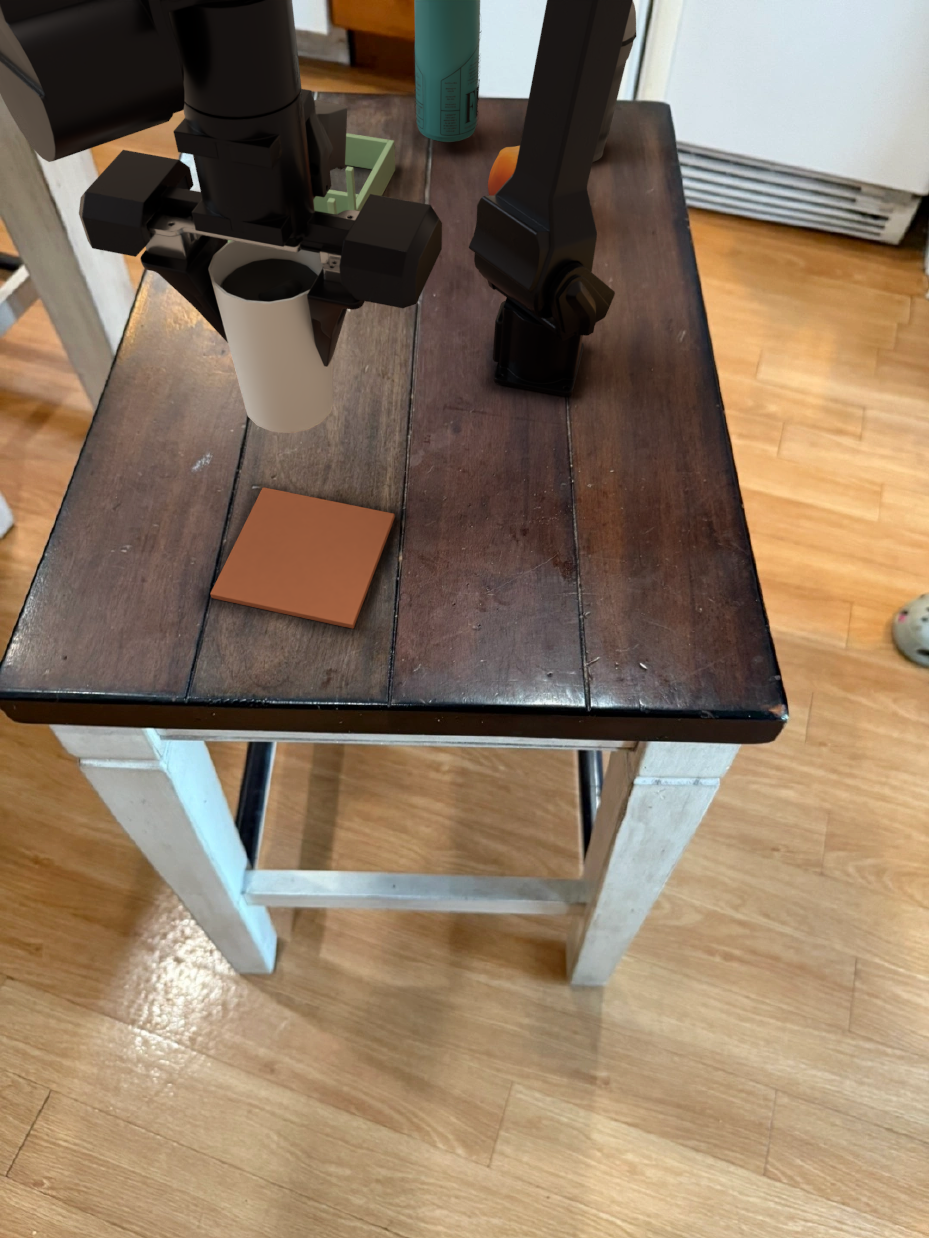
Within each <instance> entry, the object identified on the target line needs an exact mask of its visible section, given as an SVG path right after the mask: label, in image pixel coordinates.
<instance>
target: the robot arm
mask: <svg viewBox="0 0 929 1238" xmlns="http://www.w3.org/2000/svg"><path fill="white" fill-rule="evenodd" d="M632 1H633V2H634V0H546V4H545V9H544V15H543V19H542V25H541V29H540V35H539V41H538V46H537V52H536V57H535V63H534V69H533V75H532V78H531V83H530V90H529V95H528V99H527V106H526V110H525V117H524V121H523V127H522V133H521V138H520V141H519V146H520V148H519V153H518V159H517V164H516V167H515V171H514V173H513V175H512V176H511V177H510V178H509V179H508V180H507V181H506V182H505V183H504V185H503V186H502V187H501V188H500V189H499V190H498V191H497V192H496V194H495V195H494V196H489V195H483V196H481V197H480V199H479V201H478V203H477V205H476V220H475V221H476V224H475V228H474V232H473V236H472V238H471V240H470V243H469V245H468V249H469V250H471V252H473V253H474V258H473V262H474V267H475V269H476V270H478V272H479V273H480V275H481V276H482V277H483V278H484V279H486V281H487V284H488V286H489V288H491V289H492V290H494V291H496V292H498V293H500V294H501V295H503V297H505V300H503V301H501V303H500V306H499V309H498V312H497V314H496V317H495V321H494V335H493V348H492V349H493V350H492V360H493V362H494V363H497V365H496V368H495V371H494V374H493V382H494V383H496V384H497V385H503V386H508V387H512V388H513V387H514V388H519V389H524V390H530V391H535V392H539V393H540V392H541V393H546V394H552V395H556V396H562V397H570V396H572V394H573V392H574V389H575V384H576V380H577V376H578V372H579V370H580V369H579V368H580V364H581V361H582V357H583V352H584V349H585V348H584V347H585V344H584V343H583V339H584V336H587V337H588V336H590V335H592V334H594V332H595V326H596V324H597V323H598V322H600V321H602V320H604V319H605V318H606V316H607V315H608V313H609V310H610V308H611V304H612V302H613V300H614V297H615V295H616V292H615V290H613V289H612V288H611V287H610V286H609V285H607V283H605V282H604V281H603V280H601V279H600V278H599V277H598V276H597V275H596V274H594V273H593V265H594V259H595V253H596V246H597V240H598V239H597V238H598V232H597V231H598V230H597V227H596V222H595V218H594V213H593V209H592V205H591V200H590V196H589V193H588V184H589V183H588V182H589V178H590V175H591V170H592V168H593V167H592V166H593V163H594V162H593V159H594V155H595V151H596V147H597V143H598V138H599V134H600V130H601V126H602V122H603V118H604V114H605V110H606V106H607V102H608V98H609V94H610V90H611V86H612V82H613V78H614V74H615V70H616V66H617V62H618V58H619V54H620V50H621V46H622V42H623V38H624V34H625V29H626V25H627V21H628V17H629V13H630V9H631V5H632ZM294 15H295V14H294V6H293V0H0V97H1V99H2V101H3V103H4V104H5V107H6V108H7V110H8V112H9V114H10V116H11V118H12V119H13V121H14V123H15V124H16V126H17V127H18V129H19V131H20V132H21V134H22V135H23V137H24V138H25V140H26V141H27V143H28V144H29V146H30V147H31V148H32V150H34V151H35V152H36V154H37V155H38V156H39V157H40V158H42V160H45V161H46V162H48V163H50V162H51V163H52V162H55V161H58V160H61V159H64V158H66V157H70V156H73V155H76V154H78V153H81V152H84V151H87V150H90V149H93V148H96V147H99V146H101V145H105V144H108V143H110V142H114V141H116V140H118V139H123V138H124V137H127V136H130V135H133V134H136V133H139V132H142V131H145V130H148V129H151V128H154V127H158V126H160V125H163V124H165V123H168V122H170V121H171V119H172V118H173V117H174V116H173V115H174V114H176V113H179V112H182V111H183V114H184V118H183V119H182V120H181V122H180V123H179V124H178V125H177V126H176V128H175V129H174V130H173V136H174V140H175V144H176V150H177V153H181V154H186V155H192V158H193V162H194V167H195V171H196V177H197V181H198V186H199V190H200V191H198V190H193V189H192V188H193V187H194V180H193V175H192V171H191V167H190V165H187V164H186V163H185V162H183V161H182V160H181V159H177V158H172V157H167V156H161V155H155V154H149V153H144V152H138V151H132V150H127V149H122V150H121V151H120V152H119V153H118V155H116V157H114V159H113V160H112V161H111V162H110V163H109V165H108V166H107V167H105V169H104V170H103V171H102V172H101V173H100V175H98V176H97V178H96V179H95V180H94V181H93V182H92V183H91V184H90V185H89V187H87V189H86V190H85V191H84V192H83V193H82V195H81V196H80V198H79V199H80V200H79V208H78V215H79V219H80V221H81V225H82V228H83V231H84V235H85V237H86V241H87V242H88V244H89V246H90V247H91V249H93V250H99V251H103V252H109V253H114V254H119V255H125V256H130V257H134V258H137V257H138V255H139V254H140V253H141V252H142V251H143V250H144V249H145V250H144V251H143V253H142V254H141V255H140V258H139V259H140V263H141V265H142V267H143V268H144V269H145V270H146V271H150V272H154V273H157V274H158V275H159V276H160V277H161V278H162V279H163V280H164V281H165V282H167V284H169V285H170V286H171V287H172V288H173V289H174V290H175V291H176V292H177V293H179V294H180V295H181V296H182V297H183V298H184V300H186V301H187V302H188V303H189V304H190V305H191V306H192V307H193V308H194V309H195V310H196V311H197V313H199V314H200V315H201V316H202V317H203V318H204V320H206V322H207V323H209V325H210V326H211V327H212V328H213V329H214V330H215V331H216V332H217V333H218V334H219V336H220V337H221V338H222V339H223V340H224V341H225V342H226V343H227V344H228V341H227V337H226V333H225V330H224V326H223V322H222V318H221V315H220V311H219V307H218V303H217V300H216V296H215V292H214V289H213V285H212V281H211V277H210V274H209V270H208V268H209V266H210V263H211V260H212V258H213V255H214V254H215V253H216V252H218V251H219V250H220V249H221V248H222V247H223V246H224V245H226V244H227V243H228V240H231V241H237V242H242V243H247V244H252V245H258V246H263V247H268V248H274V249H279V250H284V251H290V252H299V251H300V250H305V251H311V252H316V253H320V262H321V264H324V265H323V267H322V270H321V272H320V273H319V275H318V277H317V279H316V280H315V282H314V284H313V285H312V287H311V289H310V291H309V292H308V294H307V299H308V305H309V311H310V317H311V323H312V329H313V335H314V341H315V346H316V348H317V350H318V353H319V355H320V357H321V360H322V362H323V365H324V366H326V367H328V365H329V363H330V361H331V359H332V360H333V357H334V354H335V351H336V348H337V345H338V341H339V338H340V335H341V331H342V328H343V326H344V325H343V324H344V321H345V318H346V314H347V310H350V311H352V310H358V309H360V308H361V307H363V305H364V304H365V303H366V302H367V303H372V304H378V305H382V306H387V307H388V306H389V307H394V308H398V309H405V308H408V307H411V306H415V305H417V303H418V301H419V299H420V297H421V295H422V292H423V290H424V288H425V286H426V283H427V282H428V280H429V277H430V275H431V273H432V271H433V269H434V267H435V265H436V262H437V261H438V258H439V256H440V254H441V252H442V249H443V245H442V244H443V222H442V220H441V218H440V217H439V216H438V213H437V212H436V211H435V209H434V208H433V206H432V205H431V204H429V203H422V202H418V201H413V200H406V199H401V198H397V197H396V198H395V197H389V196H384V195H382V196H379V195H373V194H370V195H369V197H368V199H367V200H366V202H365V204H364V206H363V207H362V209H361V211H355V210H345V211H342V212H340V213H339V214H330V213H325V212H319V211H315V210H314V198H315V197H316V196H318V197H325V196H326V194H327V192H328V191H329V189H330V190H331V188H332V177H331V171H334V170H336V169H337V170H344V169H346V165H345V154H346V133H347V129H348V128H347V127H348V106H347V105H344V104H341V103H335V102H329V101H323V100H317V99H315V98H314V96H313V92H312V91H313V90H312V89H305V88H302V80H301V71H300V62H299V61H300V60H299V52H298V44H297V43H298V42H297V34H296V23H295V16H294ZM223 284H224V282H223Z"/></svg>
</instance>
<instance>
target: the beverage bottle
mask: <svg viewBox="0 0 929 1238" xmlns="http://www.w3.org/2000/svg"><path fill="white" fill-rule="evenodd" d="M413 2H414V37H413V39H414V40H413V42H412V43H414V51H413V52H412V53H413V55H414V57H413V60H414V65H413V68H414V75H413V79H414V85H413V86H414V87H413V88H414V92H415V97H414V106H415V111H414V114H415V123H416V126H417V129H418V131H419V133H420V134H421V135H423V136H424V137H426V138H428V139H430V140H433V141H437V142H444V143H451V142H452V143H453V142H460V141H462V140H466V139H468V138H470V137H472V136H473V134H474V133H475V131H476V128H477V126H478V121H479V115H480V114H479V113H480V112H479V111H480V110H479V101H480V97H479V96H480V82H481V81H480V80H481V79H480V78H479V77H480V75H481V70H480V67H481V64H480V59H481V58H482V57H481V54H480V41H481V37H482V36H481V34H482V28H483V27H481V24H482V22H483V21H482V20H481V17H482V15H481V0H414V1H413Z"/></svg>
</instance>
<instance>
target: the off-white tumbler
mask: <svg viewBox="0 0 929 1238" xmlns="http://www.w3.org/2000/svg"><path fill="white" fill-rule="evenodd" d="M323 265H324V264H321V262H320V253H316V252H311V251H305V250H300V251H299V252H290V251H284V250H279V249H274V248H268V247H263V246H258V245H252V244H247V243H242V242H237V241H231V242H229V243H227V244H226V245H224V246H223V247H222V248H221V249H220V250H219V251H218V252H216V253H215V254H214V255H213V258H212V260H211V263H210V266H209V268H208V270H209V274H210V277H211V281H212V285H213V289H214V292H215V296H216V300H217V303H218V307H219V311H220V315H221V318H222V322H223V326H224V330H225V333H226V337H227V341H228V343H227V344H228V349H229V352H230V356H231V359H232V363H233V367H234V370H235V374H236V378H237V382H238V386H239V389H240V392H241V396H242V401H243V405H244V408H245V412H246V416H247V417H248V418H249V419H250V420H251V421H252V422H253V423H254V424H255V425H256V426H257V427H260V428H262V429H264V430H266V431H270V432H272V433H281V434H294V433H299V432H304V431H308V430H310V429H313V428H314V427H316V426H318V425H320V424H322V423H323V422H324V421H325V420H326V419H327V418H328V416H329V415H330V414H331V412H333V406H334V402H335V389H334V388H335V386H334V366H333V365H334V364H333V358H332V359H331V361H330V363H329V365H328V367H326V366H324V365H323V362H322V360H321V357H320V355H319V353H318V350H317V348H316V346H315V341H314V335H313V329H312V323H311V317H310V311H309V305H308V299H307V294H308V292H309V291H310V289H311V287H312V285H313V284H314V282H315V280H316V279H317V277H318V275H319V273H320V272H321V270H322V267H323ZM223 282H224V284H223Z"/></svg>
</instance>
